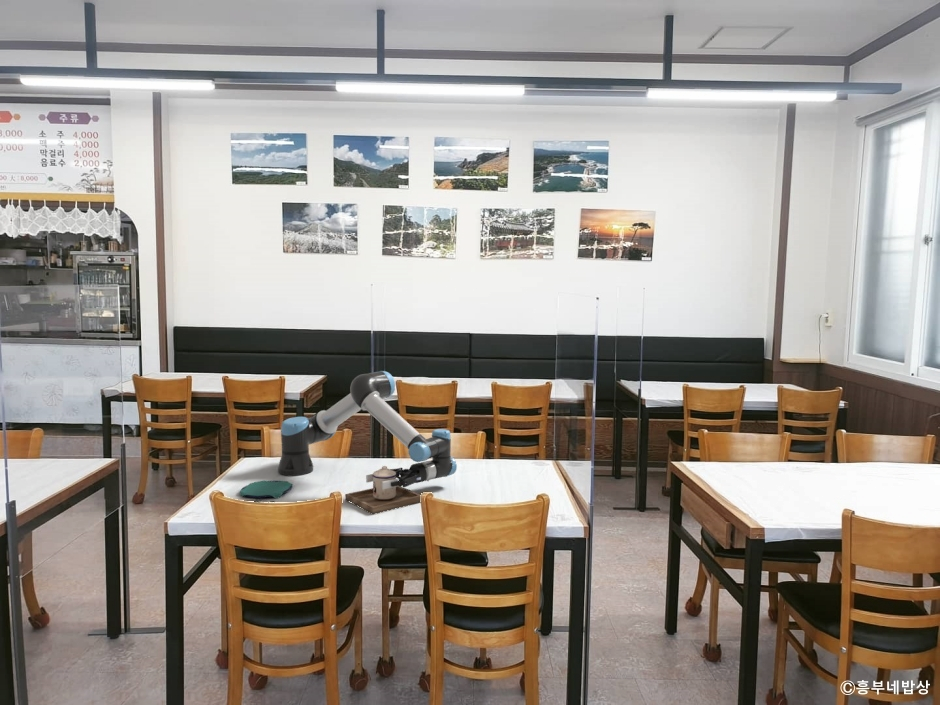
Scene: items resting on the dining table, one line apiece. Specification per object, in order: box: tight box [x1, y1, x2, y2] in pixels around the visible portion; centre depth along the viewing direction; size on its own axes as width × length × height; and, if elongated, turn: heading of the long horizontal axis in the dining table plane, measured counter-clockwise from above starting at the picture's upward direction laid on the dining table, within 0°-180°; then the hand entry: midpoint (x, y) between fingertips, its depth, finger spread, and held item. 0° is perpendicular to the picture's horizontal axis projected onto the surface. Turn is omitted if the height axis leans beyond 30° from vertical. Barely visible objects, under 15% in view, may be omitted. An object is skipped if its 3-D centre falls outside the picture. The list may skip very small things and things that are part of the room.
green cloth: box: [239, 480, 294, 503], centre depth 251 cm, size 20×30×2 cm, turn 175°
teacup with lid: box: [372, 465, 397, 499], centre depth 244 cm, size 12×9×12 cm
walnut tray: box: [344, 486, 421, 515], centre depth 244 cm, size 20×22×2 cm
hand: (374, 482), depth 241 cm, fingers open, 11 cm apart
